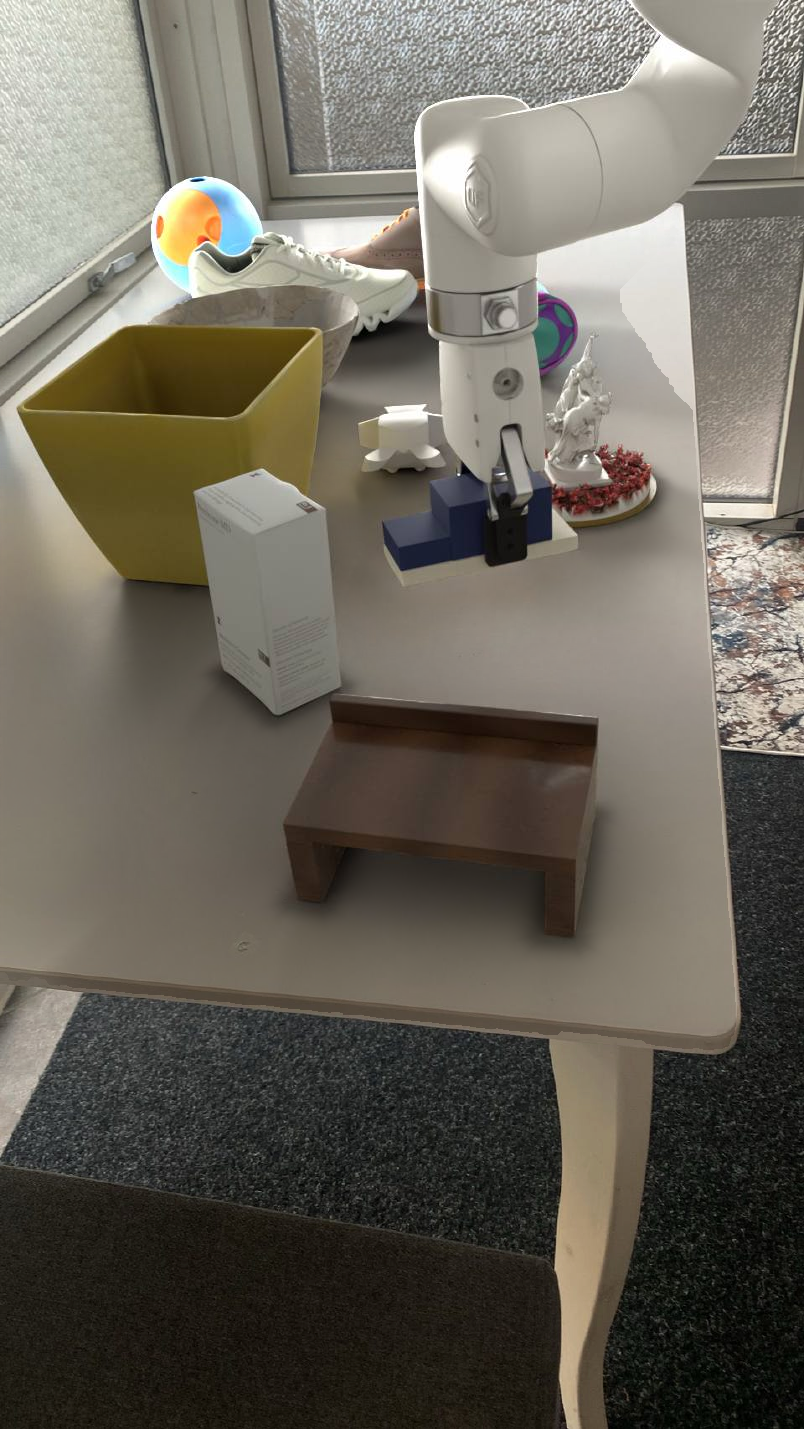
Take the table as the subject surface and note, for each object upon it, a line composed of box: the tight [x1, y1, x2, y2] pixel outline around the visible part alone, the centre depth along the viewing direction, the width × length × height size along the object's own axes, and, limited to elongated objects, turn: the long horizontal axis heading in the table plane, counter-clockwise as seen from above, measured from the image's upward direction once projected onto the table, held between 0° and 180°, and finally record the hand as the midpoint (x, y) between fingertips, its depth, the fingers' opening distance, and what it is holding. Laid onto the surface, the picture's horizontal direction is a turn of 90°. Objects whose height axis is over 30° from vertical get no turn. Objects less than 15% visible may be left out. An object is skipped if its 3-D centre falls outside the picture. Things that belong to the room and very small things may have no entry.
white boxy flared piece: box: [357, 403, 448, 474], centre depth 109 cm, size 10×5×15 cm
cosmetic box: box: [193, 469, 343, 716], centre depth 78 cm, size 8×6×15 cm
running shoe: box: [189, 232, 420, 337], centre depth 141 cm, size 11×30×12 cm, turn 89°
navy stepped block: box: [381, 466, 579, 588], centre depth 85 cm, size 14×5×6 cm, turn 106°
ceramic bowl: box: [146, 285, 359, 390], centre depth 123 cm, size 22×23×10 cm
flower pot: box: [15, 323, 323, 587], centre depth 94 cm, size 19×19×17 cm
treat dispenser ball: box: [150, 176, 264, 294], centre depth 157 cm, size 16×15×15 cm
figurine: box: [500, 331, 658, 528], centre depth 99 cm, size 15×15×14 cm
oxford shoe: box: [307, 204, 426, 291], centre depth 152 cm, size 11×31×11 cm, turn 79°
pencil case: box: [532, 281, 579, 377], centre depth 131 cm, size 21×9×10 cm, turn 10°
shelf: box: [282, 693, 600, 938], centre depth 64 cm, size 16×10×8 cm, turn 76°
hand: (492, 541), depth 86 cm, fingers closed on navy stepped block, 5 cm apart
